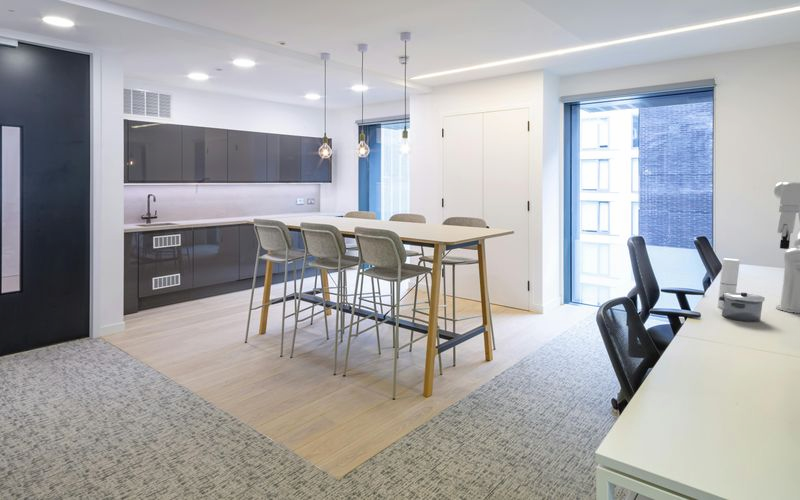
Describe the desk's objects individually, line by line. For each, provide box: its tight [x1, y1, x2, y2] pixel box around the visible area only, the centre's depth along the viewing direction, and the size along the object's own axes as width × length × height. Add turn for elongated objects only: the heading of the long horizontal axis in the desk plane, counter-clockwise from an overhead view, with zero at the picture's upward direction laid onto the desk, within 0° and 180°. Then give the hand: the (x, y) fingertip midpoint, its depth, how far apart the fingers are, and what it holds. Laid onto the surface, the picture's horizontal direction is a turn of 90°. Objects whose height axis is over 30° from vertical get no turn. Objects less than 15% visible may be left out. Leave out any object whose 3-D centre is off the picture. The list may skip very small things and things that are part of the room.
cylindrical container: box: [717, 257, 741, 309], centre depth 250 cm, size 7×7×25 cm
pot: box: [718, 295, 763, 323], centre depth 232 cm, size 20×16×9 cm
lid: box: [723, 292, 765, 303], centre depth 230 cm, size 16×16×3 cm
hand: (784, 248), depth 230 cm, fingers closed
